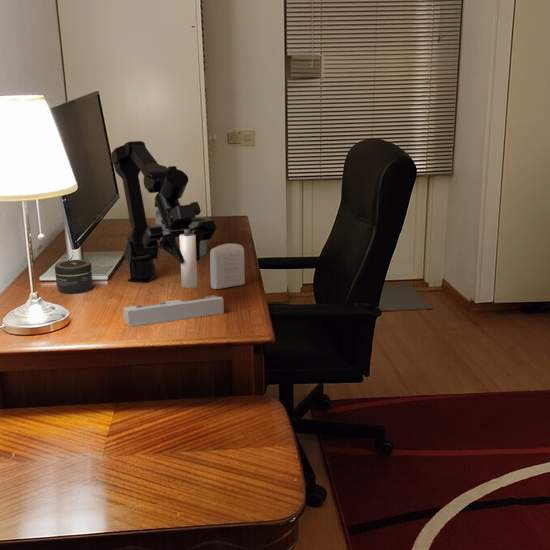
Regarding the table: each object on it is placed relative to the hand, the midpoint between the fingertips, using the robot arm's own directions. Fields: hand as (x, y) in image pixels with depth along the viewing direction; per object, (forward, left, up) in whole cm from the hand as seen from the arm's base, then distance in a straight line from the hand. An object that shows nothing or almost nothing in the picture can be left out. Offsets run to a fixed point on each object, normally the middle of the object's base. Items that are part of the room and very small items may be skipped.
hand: (190, 261), depth 171 cm
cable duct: (-4, -4, -13) cm, 14 cm away
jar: (-40, +10, -14) cm, 44 cm away
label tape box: (-46, +86, -14) cm, 99 cm away
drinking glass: (-23, +57, -14) cm, 63 cm away
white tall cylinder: (-1, +1, -7) cm, 7 cm away
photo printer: (+1, +24, -14) cm, 28 cm away
